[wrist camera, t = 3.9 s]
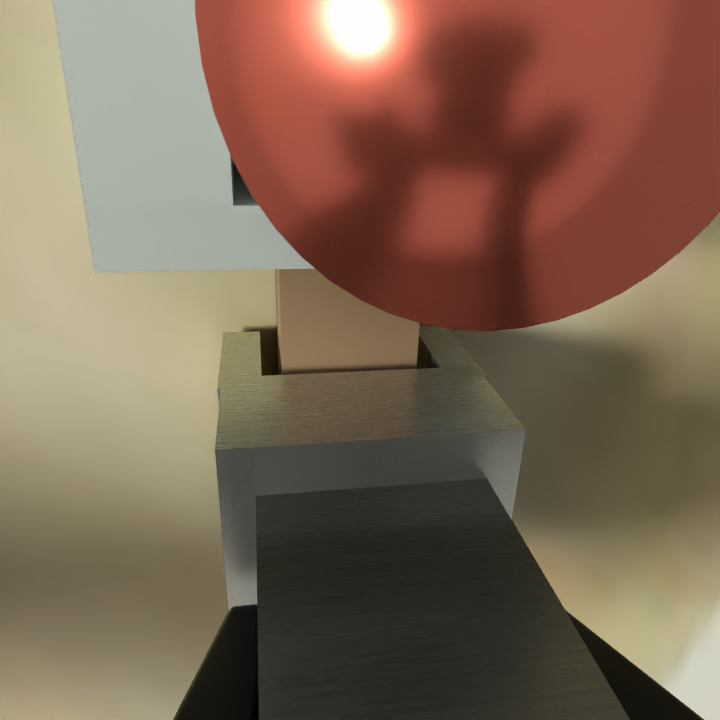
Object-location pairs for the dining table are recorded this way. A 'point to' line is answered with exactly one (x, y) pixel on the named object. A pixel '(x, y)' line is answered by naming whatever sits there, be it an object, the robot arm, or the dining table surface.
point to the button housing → (155, 145)
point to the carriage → (390, 546)
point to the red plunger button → (473, 144)
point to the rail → (336, 329)
